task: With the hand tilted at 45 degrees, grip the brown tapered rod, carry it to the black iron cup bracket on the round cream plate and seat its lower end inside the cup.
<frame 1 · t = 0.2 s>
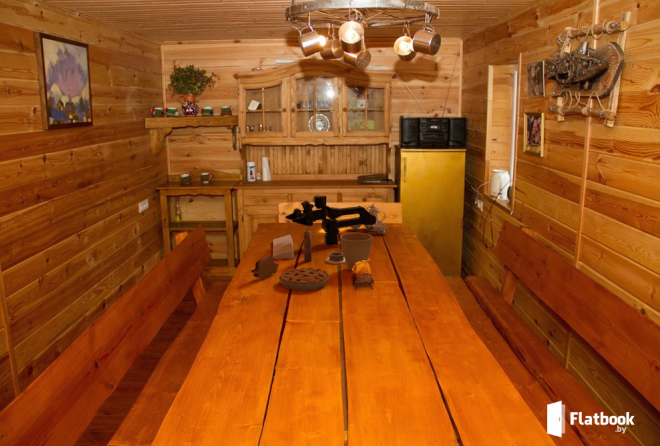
hand: (288, 219, 297), 17 cm above the table, tool horizontal, fingers open, 9 cm apart
brown tapered rod: (307, 261, 280), on the table
plant pot: (356, 269, 266), on the table
cup bracket: (336, 260, 280), on the table
wooden carving: (264, 278, 254), on the table
decorative molding: (283, 251, 301), on the table
pie: (304, 284, 246), on the table
chinaware: (370, 231, 343), on the table
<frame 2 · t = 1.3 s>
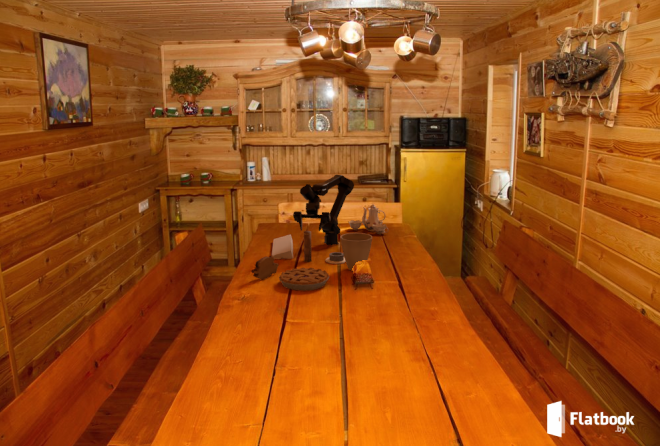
hand: (310, 230, 285), 14 cm above the table, tool tilted 45°, fingers open, 9 cm apart
nothing on the table moved.
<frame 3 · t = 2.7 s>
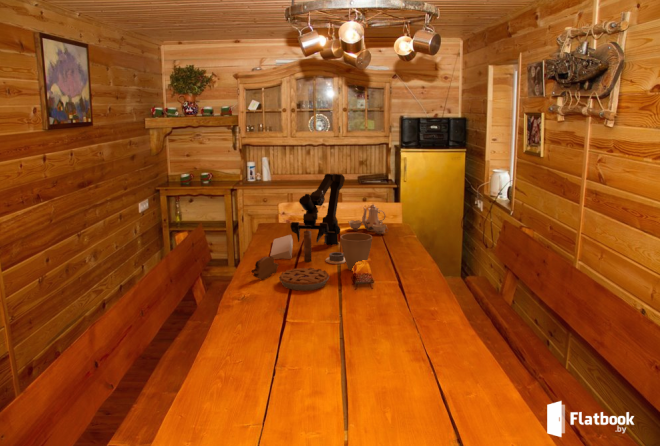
hand: (307, 241, 279), 10 cm above the table, tool tilted 45°, fingers open, 9 cm apart
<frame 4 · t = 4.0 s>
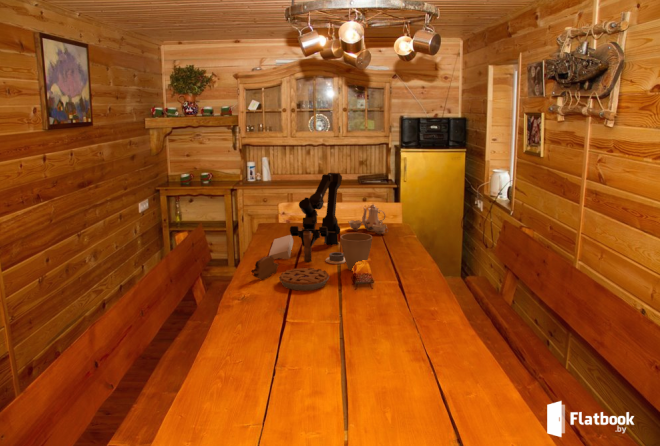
hand: (307, 246, 277), 8 cm above the table, tool tilted 45°, fingers closed on brown tapered rod, 4 cm apart
brown tapered rod: (307, 261, 280), on the table, touching gripper
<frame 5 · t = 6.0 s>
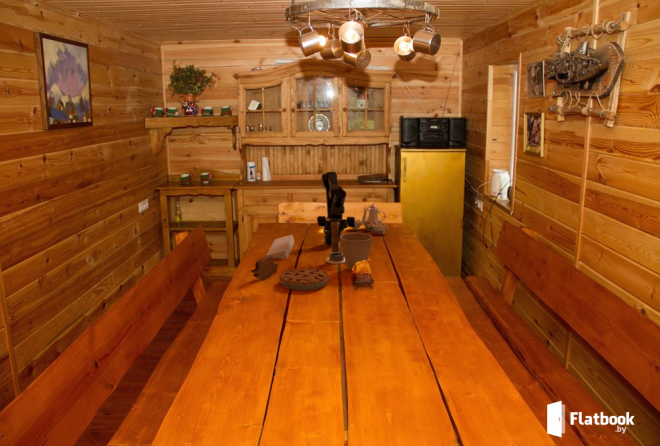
hand: (334, 236, 276), 13 cm above the table, tool tilted 45°, fingers closed on brown tapered rod, 4 cm apart
brown tapered rod: (335, 251, 279), point 5 cm above the table, touching gripper
when the fingers open (10 cm above the table, at t = 7.1 s): brown tapered rod stays where it is, resting on cup bracket.
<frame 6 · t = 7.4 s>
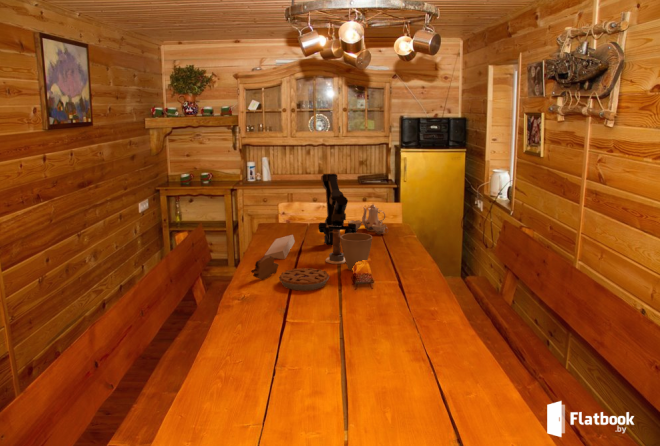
hand: (336, 242, 277), 10 cm above the table, tool tilted 45°, fingers open, 7 cm apart
brown tapered rod: (336, 259, 280), point 1 cm above the table, touching cup bracket
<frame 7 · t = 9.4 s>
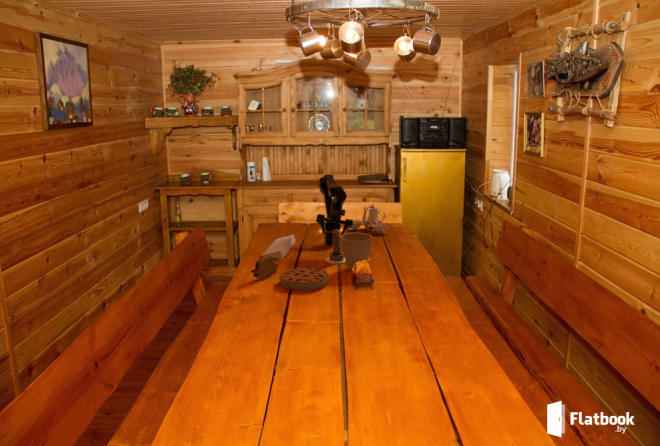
hand: (332, 236, 286), 10 cm above the table, tool tilted 35°, fingers open, 9 cm apart
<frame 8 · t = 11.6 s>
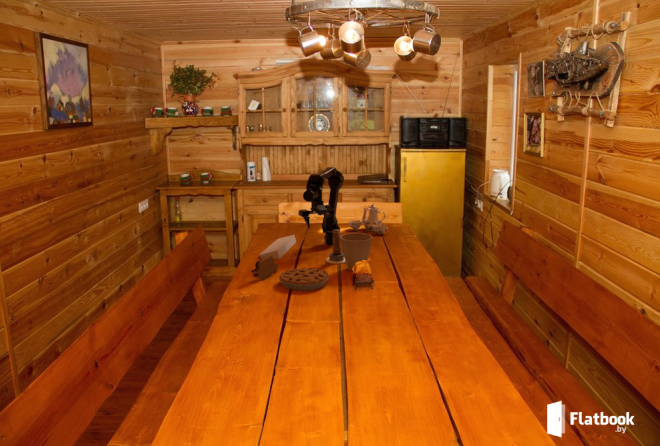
hand: (317, 228, 293), 13 cm above the table, tool pointing down, fingers open, 9 cm apart
at the end: brown tapered rod 0.1 cm off-centre on the cup bracket, point 0.6 cm above the cup bracket's base; brown tapered rod tilted 0°; the gripper is holding nothing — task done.
